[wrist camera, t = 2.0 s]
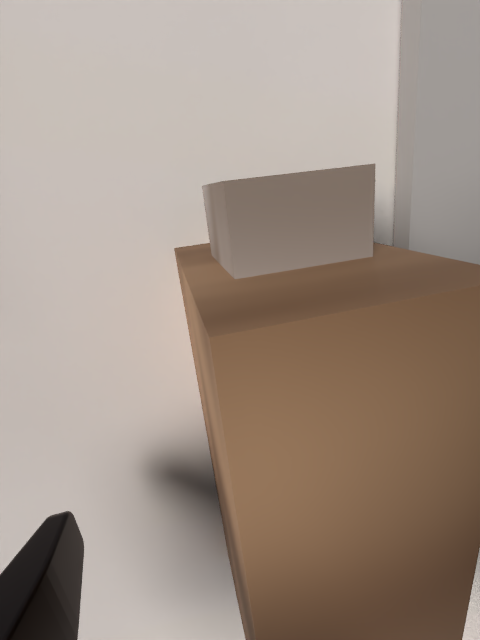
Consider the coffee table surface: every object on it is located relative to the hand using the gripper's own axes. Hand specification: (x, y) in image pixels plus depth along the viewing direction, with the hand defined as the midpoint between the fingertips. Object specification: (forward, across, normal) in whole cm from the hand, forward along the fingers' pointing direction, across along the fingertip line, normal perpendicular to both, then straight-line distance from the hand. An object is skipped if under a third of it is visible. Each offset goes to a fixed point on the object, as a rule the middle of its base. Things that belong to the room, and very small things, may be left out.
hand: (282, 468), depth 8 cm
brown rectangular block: (+2, 0, 0) cm, 2 cm away
